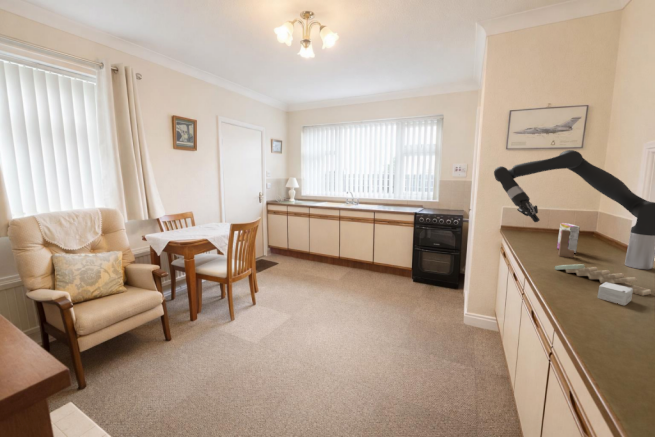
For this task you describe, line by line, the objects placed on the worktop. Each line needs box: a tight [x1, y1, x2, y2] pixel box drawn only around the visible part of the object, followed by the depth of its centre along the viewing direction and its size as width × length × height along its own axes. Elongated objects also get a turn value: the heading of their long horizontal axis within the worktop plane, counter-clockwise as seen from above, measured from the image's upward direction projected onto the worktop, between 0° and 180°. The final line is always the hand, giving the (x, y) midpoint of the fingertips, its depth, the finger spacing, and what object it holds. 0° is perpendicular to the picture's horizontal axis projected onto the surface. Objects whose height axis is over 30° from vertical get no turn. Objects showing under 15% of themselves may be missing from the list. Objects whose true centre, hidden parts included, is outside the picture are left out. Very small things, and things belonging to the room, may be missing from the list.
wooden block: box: [558, 230, 575, 259], centre depth 163 cm, size 7×3×15 cm, turn 58°
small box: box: [596, 282, 634, 306], centre depth 109 cm, size 8×8×5 cm
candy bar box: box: [556, 222, 581, 254], centre depth 174 cm, size 11×5×16 cm, turn 168°
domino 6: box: [612, 283, 652, 297], centre depth 118 cm, size 2×5×10 cm
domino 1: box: [554, 263, 586, 271], centre depth 138 cm, size 2×5×10 cm
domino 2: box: [564, 266, 599, 274], centre depth 134 cm, size 2×5×10 cm
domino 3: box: [575, 269, 611, 277], centre depth 130 cm, size 2×5×10 cm
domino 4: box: [587, 272, 625, 280], centre depth 125 cm, size 2×5×10 cm
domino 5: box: [598, 276, 638, 284], centre depth 121 cm, size 2×5×10 cm
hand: (537, 221), depth 151 cm, fingers closed
